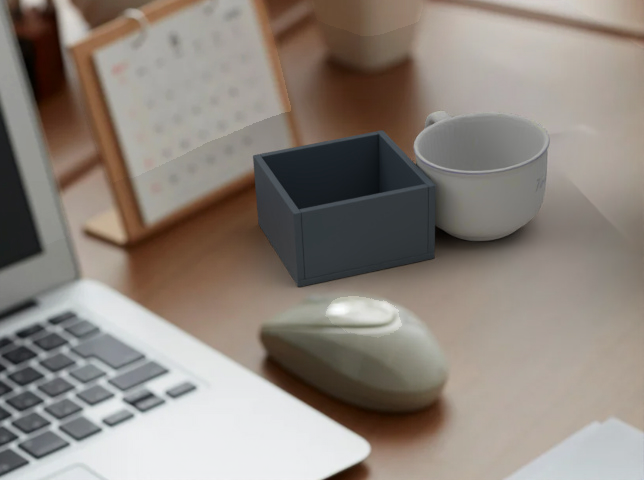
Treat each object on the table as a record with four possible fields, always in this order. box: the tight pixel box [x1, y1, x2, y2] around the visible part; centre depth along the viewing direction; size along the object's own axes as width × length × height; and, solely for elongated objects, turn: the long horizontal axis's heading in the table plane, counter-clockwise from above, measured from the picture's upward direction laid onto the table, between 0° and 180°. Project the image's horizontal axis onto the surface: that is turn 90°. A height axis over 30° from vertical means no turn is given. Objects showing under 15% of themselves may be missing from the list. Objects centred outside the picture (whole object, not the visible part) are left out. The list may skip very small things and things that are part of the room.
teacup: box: [413, 110, 551, 242], centre depth 101 cm, size 14×11×8 cm
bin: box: [252, 129, 436, 288], centre depth 100 cm, size 12×12×7 cm
